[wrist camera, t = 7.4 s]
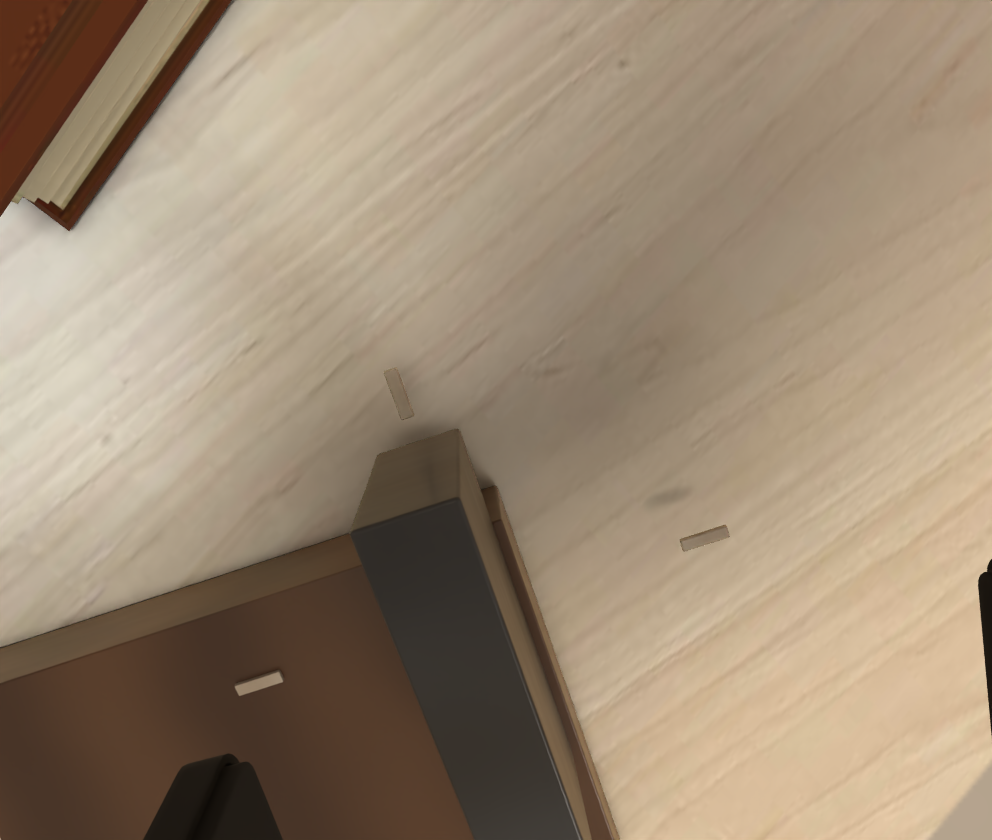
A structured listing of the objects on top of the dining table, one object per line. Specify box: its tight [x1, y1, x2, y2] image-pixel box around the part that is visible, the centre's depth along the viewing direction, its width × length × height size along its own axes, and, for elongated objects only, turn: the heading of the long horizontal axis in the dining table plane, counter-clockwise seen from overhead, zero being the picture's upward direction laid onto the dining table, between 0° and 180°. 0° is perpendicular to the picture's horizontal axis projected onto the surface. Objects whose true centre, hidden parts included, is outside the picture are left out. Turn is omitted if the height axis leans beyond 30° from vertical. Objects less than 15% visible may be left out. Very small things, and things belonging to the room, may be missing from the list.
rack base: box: [0, 367, 730, 840], centre depth 24 cm, size 24×20×3 cm
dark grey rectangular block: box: [350, 429, 592, 840], centre depth 19 cm, size 11×2×6 cm, turn 18°
